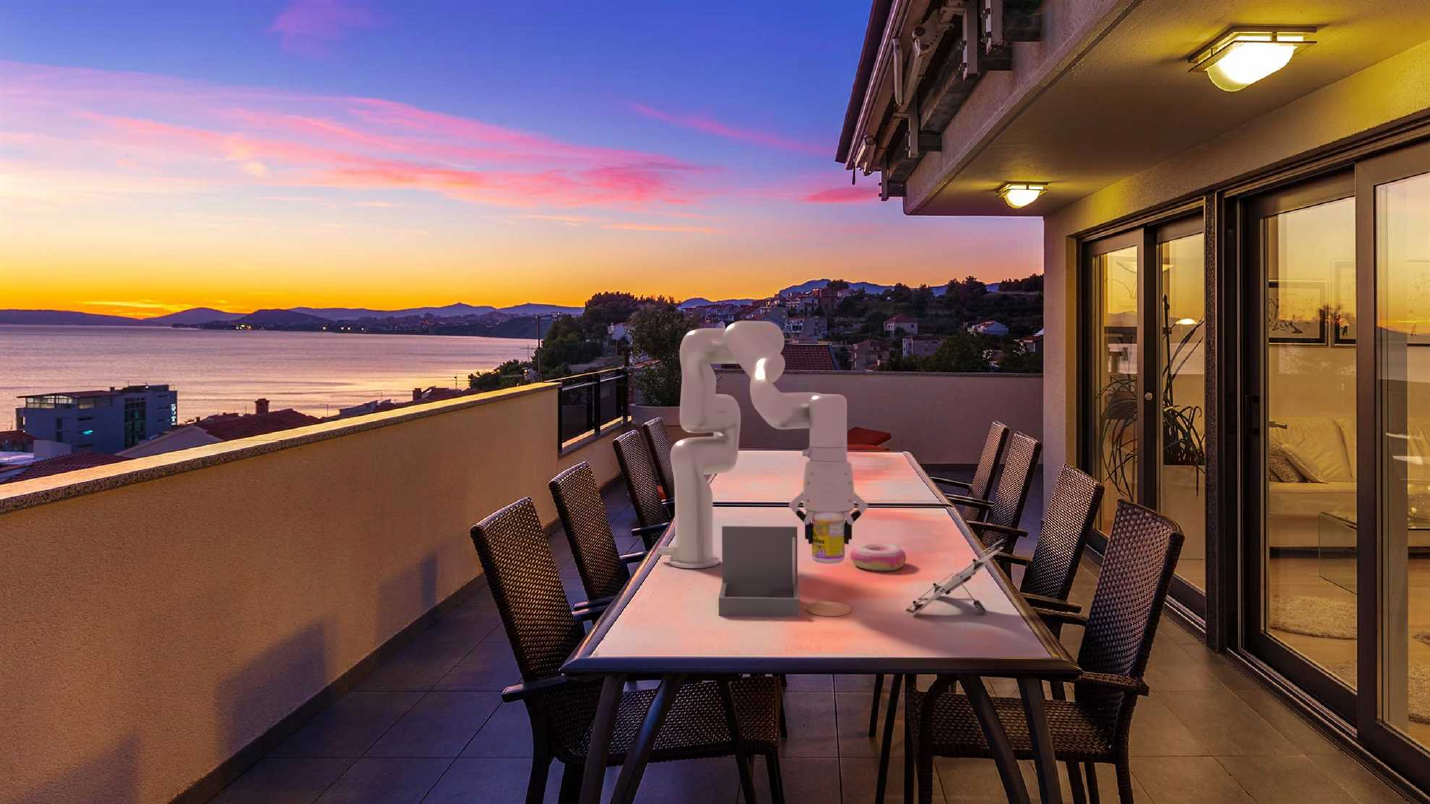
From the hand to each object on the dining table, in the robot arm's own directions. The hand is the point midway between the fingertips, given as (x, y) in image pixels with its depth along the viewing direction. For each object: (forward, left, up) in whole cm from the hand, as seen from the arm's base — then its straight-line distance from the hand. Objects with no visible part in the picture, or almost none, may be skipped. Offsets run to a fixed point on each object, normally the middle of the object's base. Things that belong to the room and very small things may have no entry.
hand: (828, 542), depth 169 cm
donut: (+15, +37, -14) cm, 43 cm away
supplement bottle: (0, 0, -4) cm, 4 cm away
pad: (0, 0, -14) cm, 14 cm away
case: (-14, +1, -14) cm, 20 cm away
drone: (+25, +1, -14) cm, 29 cm away
